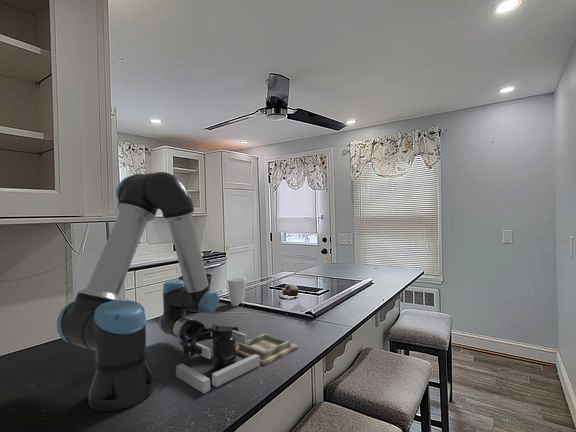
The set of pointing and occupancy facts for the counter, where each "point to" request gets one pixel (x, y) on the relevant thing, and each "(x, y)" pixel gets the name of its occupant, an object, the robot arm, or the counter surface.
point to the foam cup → (237, 290)
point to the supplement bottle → (223, 348)
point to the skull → (290, 290)
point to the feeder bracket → (216, 373)
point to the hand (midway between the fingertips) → (228, 346)
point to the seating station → (266, 348)
